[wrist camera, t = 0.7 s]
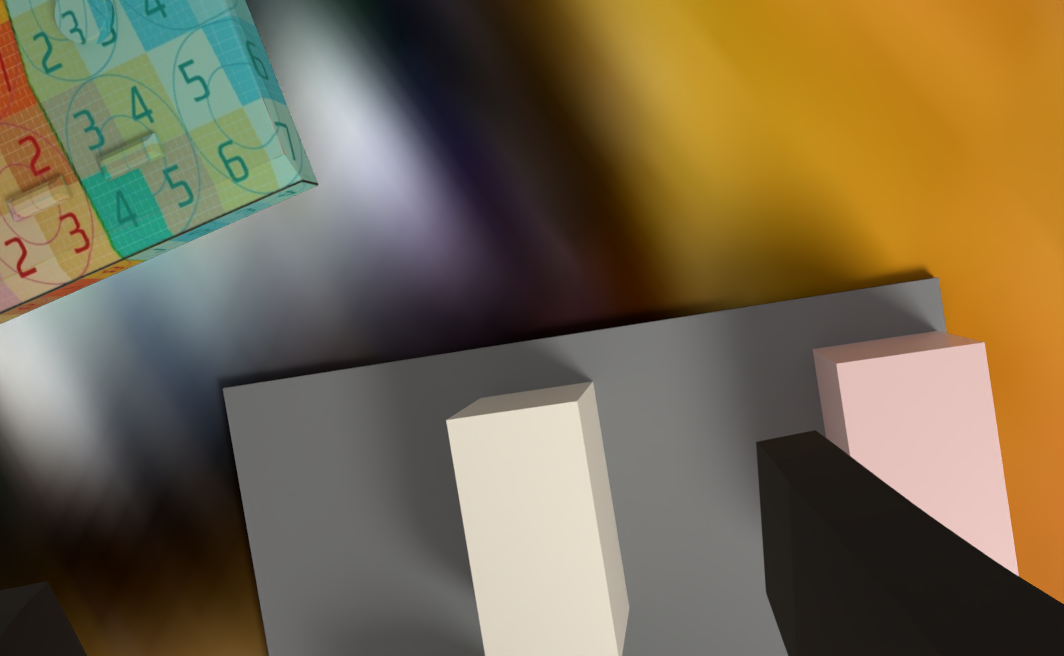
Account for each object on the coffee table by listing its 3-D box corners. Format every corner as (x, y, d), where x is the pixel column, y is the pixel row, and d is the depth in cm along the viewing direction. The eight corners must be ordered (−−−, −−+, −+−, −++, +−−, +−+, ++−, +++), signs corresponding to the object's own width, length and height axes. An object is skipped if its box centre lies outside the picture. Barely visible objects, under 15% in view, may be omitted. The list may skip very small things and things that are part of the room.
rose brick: (972, 569, 29) (1026, 625, 25) (848, 583, 30) (878, 640, 25) (937, 330, 29) (984, 342, 24) (812, 348, 29) (836, 364, 25)
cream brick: (629, 608, 31) (620, 666, 26) (517, 620, 31) (489, 680, 27) (592, 381, 30) (577, 401, 26) (480, 397, 31) (446, 420, 26)
